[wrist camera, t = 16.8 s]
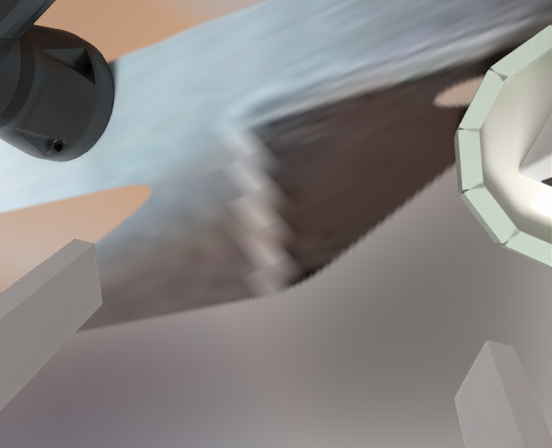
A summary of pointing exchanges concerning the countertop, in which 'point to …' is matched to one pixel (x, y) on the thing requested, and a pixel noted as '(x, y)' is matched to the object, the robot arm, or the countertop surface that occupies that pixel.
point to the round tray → (509, 150)
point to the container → (540, 157)
